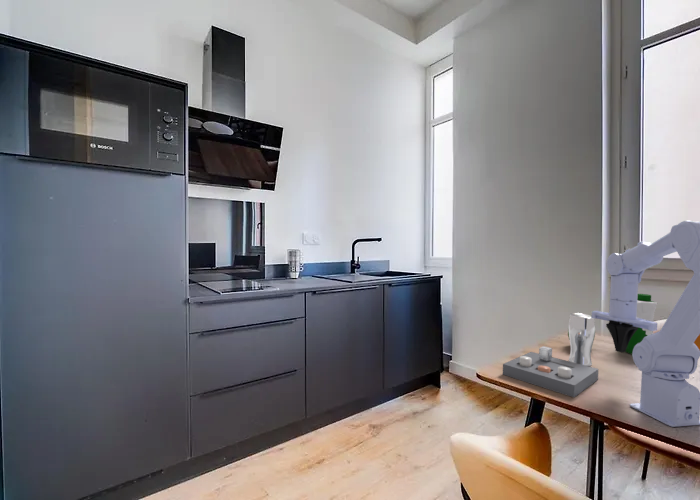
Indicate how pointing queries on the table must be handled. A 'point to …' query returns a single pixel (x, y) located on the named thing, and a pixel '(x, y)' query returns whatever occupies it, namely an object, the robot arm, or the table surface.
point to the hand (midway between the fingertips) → (620, 351)
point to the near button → (564, 372)
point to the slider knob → (545, 353)
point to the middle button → (544, 369)
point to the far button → (525, 361)
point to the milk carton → (643, 312)
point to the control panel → (552, 374)
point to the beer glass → (581, 338)
